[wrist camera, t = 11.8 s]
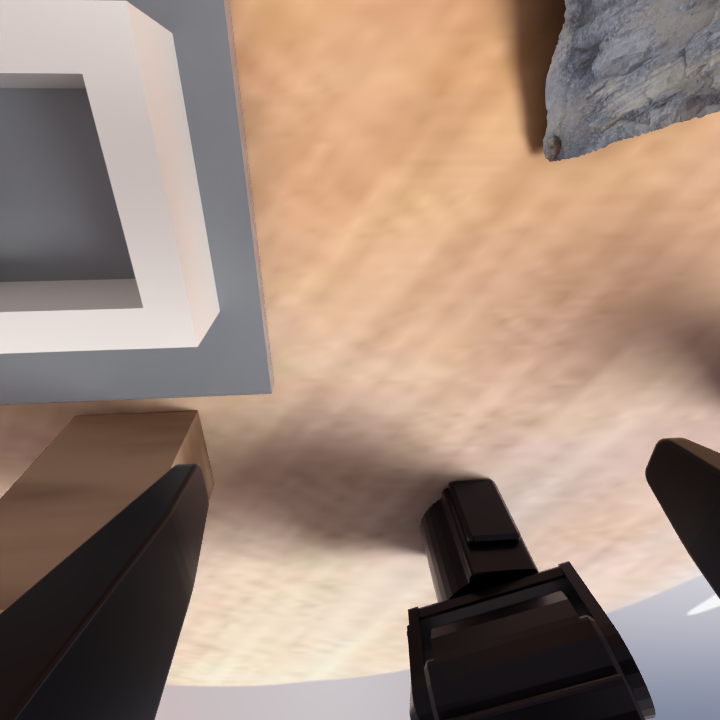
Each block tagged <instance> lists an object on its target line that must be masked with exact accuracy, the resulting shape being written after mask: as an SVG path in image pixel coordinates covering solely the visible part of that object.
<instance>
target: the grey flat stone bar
mask: <svg viewBox="0 0 720 720" xmlns="http://www.w3.org/2000/svg"><path fill="white" fill-rule="evenodd" d="M564 1H565V6H566V11H565V13H564V18H565V24H563V29H562V31H561V33H560V35H559V36H558V37H559V39H560V40H558V44H557V45H556V49H555V52H554V54H553V56H552V59H551V60H552V63H551V65H550V66H549V67H550V69H549V71H548V74H547V78H546V89H545V91H544V92H545V93H546V94H545V103H546V109H547V111H548V113H547V117H546V118H547V128H546V133H545V134H546V135H545V136H544V139H543V142H542V143H543V144H544V145H543V149H544V154H545V157H546V159H548V160H549V161H550V162H551V161H557V160H559V161H560V160H561V159H569V158H572V157H579V156H581V155H585V154H586V153H590V152H592V151H593V150H594V151H597V150H598V149H600V148H604V147H606V146H607V145H608V144H610V143H613V142H617V141H619V140H622V139H627V138H631V137H632V138H633V137H634V136H639V135H641V134H642V133H645V134H646V133H648V132H649V131H651V132H652V131H653V130H654V131H655V130H656V129H657V130H658V129H660V128H661V129H662V128H664V127H667V126H669V125H671V124H673V123H676V122H683V121H687V120H690V119H692V118H694V117H697V118H701V117H703V116H705V115H707V114H711V113H714V112H718V111H720V0H564Z"/></svg>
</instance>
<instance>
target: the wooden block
mask: <svg viewBox="0 0 720 720" xmlns="http://www.w3.org/2000/svg"><path fill="white" fill-rule="evenodd" d="M186 463H197V464H199V465H200V466H201V468H202V471H203V475H204V479H205V484H206V488H207V492H208V498H210V495H211V492H212V489H213V486H214V480H213V476H212V471H211V467H210V462H209V458H208V454H207V449H206V445H205V440H204V436H203V431H202V427H201V422H200V418H199V414H198V411H178V412H156V413H133V414H111V415H89V416H75V418H74V419H73V420H72V421H71V422H70V423H69V424H68V425H67V426H66V427H65V429H64V430H63V431H62V432H61V433H60V434H59V435H58V436H57V437H56V438H55V440H54V441H53V442H52V443H51V444H50V445H49V446H48V447H47V448H46V449H45V451H44V452H43V453H42V454H41V455H40V456H39V457H38V458H37V459H36V460H35V462H34V463H33V464H32V465H31V466H30V467H29V468H28V469H27V470H26V471H25V473H24V474H23V475H22V476H21V477H20V478H19V479H18V480H17V481H16V482H15V484H14V485H13V486H12V487H11V488H10V489H9V490H8V491H7V492H6V493H5V495H4V496H3V497H2V498H1V499H0V613H1V612H2V611H3V610H4V609H6V608H7V607H8V606H9V605H10V604H11V603H13V602H14V601H15V600H16V599H17V598H19V597H20V596H21V595H22V594H23V593H24V592H26V591H27V590H28V589H29V588H30V587H32V586H33V585H34V584H35V583H36V582H37V581H39V580H40V579H41V578H42V577H43V576H45V575H46V574H47V573H48V572H49V571H51V570H52V569H53V568H54V567H55V566H56V565H58V564H59V563H60V562H61V561H62V560H64V559H65V558H66V557H67V556H68V555H69V554H71V553H72V552H73V551H74V550H75V549H77V548H78V547H79V546H80V545H81V544H82V543H84V542H85V541H86V540H87V539H88V538H90V537H91V536H92V535H93V534H94V533H95V532H97V531H98V530H99V529H100V528H101V527H103V526H104V525H105V524H106V523H107V522H108V521H110V520H111V519H112V518H113V517H114V516H116V515H117V514H118V513H119V512H120V511H121V510H123V509H124V508H125V507H126V506H127V505H129V504H130V503H131V502H132V501H133V500H134V499H136V498H137V497H138V496H139V495H140V494H142V493H143V492H144V491H145V490H146V489H147V488H149V487H150V486H151V485H152V484H153V483H155V482H156V481H157V480H158V479H159V478H160V477H162V476H163V475H164V474H165V473H166V472H168V471H169V470H170V469H171V468H172V467H174V466H175V465H177V464H186Z"/></svg>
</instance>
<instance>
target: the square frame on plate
mask: <svg viewBox="0 0 720 720" xmlns="http://www.w3.org/2000/svg"><path fill="white" fill-rule="evenodd" d="M273 384H274V380H273V372H272V363H271V355H270V346H269V337H268V329H267V320H266V312H265V303H264V295H263V286H262V277H261V269H260V260H259V252H258V243H257V234H256V226H255V217H254V209H253V200H252V191H251V183H250V174H249V166H248V157H247V149H246V140H245V131H244V123H243V114H242V106H241V97H240V88H239V80H238V71H237V63H236V54H235V45H234V37H233V28H232V20H231V11H230V3H229V0H0V405H8V404H32V403H56V402H81V401H105V400H129V399H153V398H177V397H202V396H226V395H250V394H271V393H272V389H273Z"/></svg>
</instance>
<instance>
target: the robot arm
mask: <svg viewBox="0 0 720 720" xmlns="http://www.w3.org/2000/svg"><path fill="white" fill-rule="evenodd" d="M645 475H646V479H647V482H648V484H649V486H650V487H651V489H652V491H653V493H654V494H655V496H656V498H657V500H658V501H659V503H660V505H661V507H662V508H663V510H664V512H665V514H666V515H667V517H668V519H669V521H670V522H671V524H672V526H673V528H674V529H675V531H676V533H677V535H678V536H679V538H680V540H681V542H682V543H683V545H684V547H685V548H686V550H687V552H688V553H689V555H690V556H691V558H692V559H693V561H694V562H695V564H696V565H697V567H698V568H699V570H700V571H701V573H702V574H703V575H704V577H705V578H706V580H707V581H708V582H709V584H710V586H711V587H712V588H713V590H714V591H715V593H716V594H717V596H718V597H719V599H720V453H718V452H716V451H713V450H711V449H709V448H706V447H704V446H702V445H699V444H697V443H694V442H692V441H690V440H687V439H684V438H665V439H661V440H659V441H658V442H657V444H656V445H655V448H654V450H653V453H652V455H651V458H650V460H649V462H648V465H647V467H646V471H645ZM208 504H209V498H208V492H207V488H206V484H205V479H204V475H203V471H202V468H201V466H200V465H199V464H197V463H186V464H177V465H175V466H174V467H172V468H171V469H170V470H169V471H168V472H166V473H165V474H164V475H163V476H162V477H160V478H159V479H158V480H157V481H156V482H155V483H153V484H152V485H151V486H150V487H149V488H147V489H146V490H145V491H144V492H143V493H142V494H140V495H139V496H138V497H137V498H136V499H134V500H133V501H132V502H131V503H130V504H129V505H127V506H126V507H125V508H124V509H123V510H121V511H120V512H119V513H118V514H117V515H116V516H114V517H113V518H112V519H111V520H110V521H108V522H107V523H106V524H105V525H104V526H103V527H101V528H100V529H99V530H98V531H97V532H95V533H94V534H93V535H92V536H91V537H90V538H88V539H87V540H86V541H85V542H84V543H82V544H81V545H80V546H79V547H78V548H77V549H75V550H74V551H73V552H72V553H71V554H69V555H68V556H67V557H66V558H65V559H64V560H62V561H61V562H60V563H59V564H58V565H56V566H55V567H54V568H53V569H52V570H51V571H49V572H48V573H47V574H46V575H45V576H43V577H42V578H41V579H40V580H39V581H37V582H36V583H35V584H34V585H33V586H32V587H30V588H29V589H28V590H27V591H26V592H24V593H23V594H22V595H21V596H20V597H19V598H17V599H16V600H15V601H14V602H13V603H11V604H10V605H9V606H8V607H7V608H6V609H4V610H3V611H2V612H1V613H0V720H155V717H156V713H157V710H158V707H159V703H160V700H161V696H162V693H163V689H164V686H165V683H166V680H167V676H168V673H169V669H170V666H171V663H172V659H173V656H174V653H175V649H176V646H177V642H178V639H179V636H180V632H181V629H182V626H183V622H184V619H185V616H186V612H187V609H188V605H189V602H190V598H191V595H192V591H193V587H194V582H195V577H196V572H197V566H198V561H199V555H200V550H201V544H202V539H203V533H204V528H205V522H206V517H207V511H208ZM420 527H421V535H422V539H423V543H424V547H425V551H426V555H427V559H428V563H429V568H430V572H431V576H432V580H433V584H434V588H435V592H436V596H437V600H438V603H435V604H432V605H428V606H425V607H421V608H418V607H415V608H411V609H408V615H409V625H408V626H407V636H408V644H409V658H410V671H411V697H410V718H411V720H646V719H650V718H654V717H655V709H654V705H653V702H652V699H651V696H650V694H649V691H648V689H647V686H646V684H645V682H644V680H643V678H642V675H641V673H640V671H639V669H638V667H637V665H636V663H635V661H634V659H633V657H632V656H631V654H630V652H629V650H628V648H627V646H626V645H625V643H624V641H623V640H622V638H621V636H620V634H619V633H618V631H617V630H616V628H615V627H614V625H613V624H612V622H611V621H610V619H609V618H608V617H607V615H606V614H605V612H604V611H603V609H602V608H601V606H600V605H599V604H598V602H597V601H596V599H595V598H594V596H593V595H592V594H591V592H590V591H589V589H588V588H587V586H586V585H585V584H584V582H583V581H582V579H581V578H580V576H579V575H578V574H577V572H576V571H575V569H574V568H573V566H572V565H571V563H570V562H569V561H568V562H565V563H561V564H558V565H559V566H558V567H555V568H552V569H548V570H545V571H542V572H539V571H538V569H537V567H536V565H535V563H534V561H533V559H532V557H531V555H530V553H529V551H528V549H527V547H526V545H525V543H524V541H523V539H522V537H521V535H520V532H519V530H518V528H517V526H516V524H515V522H514V520H513V518H512V516H511V514H510V512H509V510H508V508H507V506H506V504H505V502H504V500H503V498H502V496H501V494H500V492H499V490H498V488H497V486H496V484H495V483H494V481H492V480H479V481H461V482H451V483H450V484H449V488H446V489H444V490H443V491H442V497H441V499H440V500H438V501H437V502H436V503H434V504H433V505H432V506H431V507H430V508H429V509H428V510H427V511H426V513H425V514H424V516H423V518H422V521H421V526H420Z"/></svg>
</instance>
